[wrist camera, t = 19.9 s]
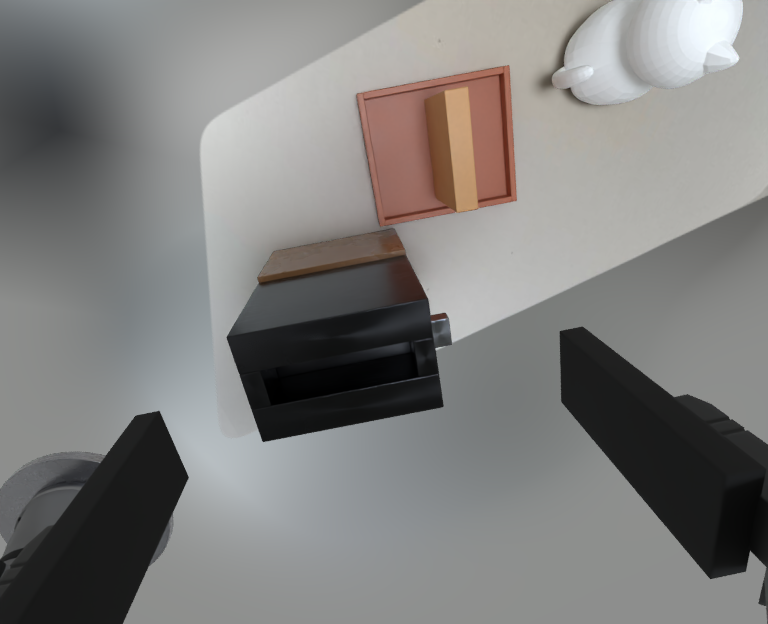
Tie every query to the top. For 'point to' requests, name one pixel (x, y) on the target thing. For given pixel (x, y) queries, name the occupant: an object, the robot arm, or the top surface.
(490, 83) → the tray
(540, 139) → the top surface
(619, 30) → the cat figurine
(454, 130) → the toast
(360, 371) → the toaster
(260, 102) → the top surface
